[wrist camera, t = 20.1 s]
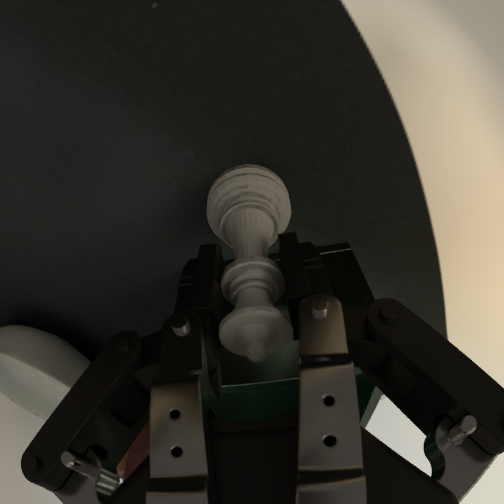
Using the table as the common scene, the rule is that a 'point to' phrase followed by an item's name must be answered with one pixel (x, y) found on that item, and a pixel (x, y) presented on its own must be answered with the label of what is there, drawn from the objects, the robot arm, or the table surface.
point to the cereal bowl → (37, 368)
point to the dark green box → (294, 353)
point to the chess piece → (251, 258)
